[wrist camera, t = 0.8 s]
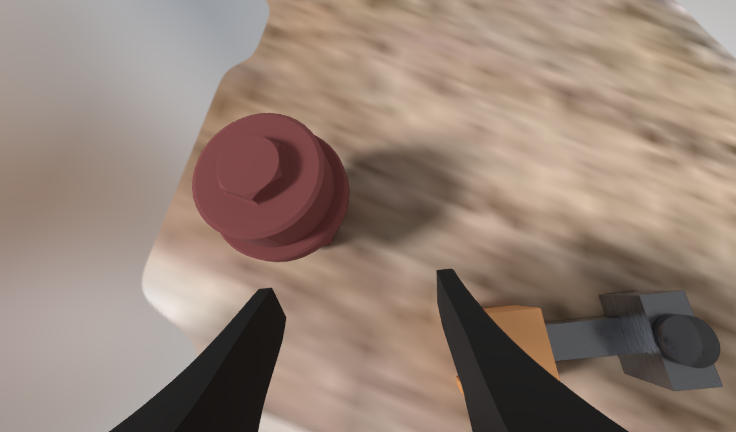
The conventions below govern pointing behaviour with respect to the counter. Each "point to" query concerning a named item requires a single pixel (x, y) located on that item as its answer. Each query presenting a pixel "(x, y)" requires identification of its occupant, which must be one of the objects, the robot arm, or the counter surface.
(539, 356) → the notched orange block
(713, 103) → the counter surface
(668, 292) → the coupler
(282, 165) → the mechanical component
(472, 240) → the counter surface
